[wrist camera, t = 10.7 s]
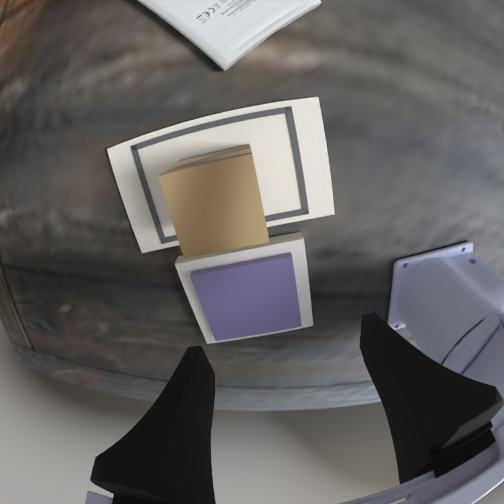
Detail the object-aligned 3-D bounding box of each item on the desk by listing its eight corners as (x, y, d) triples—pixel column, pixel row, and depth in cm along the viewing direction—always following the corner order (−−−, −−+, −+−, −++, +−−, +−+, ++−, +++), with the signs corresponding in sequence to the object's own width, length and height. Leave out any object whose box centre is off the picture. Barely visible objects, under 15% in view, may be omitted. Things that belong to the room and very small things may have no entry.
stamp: (249, 143, 16) (252, 153, 12) (262, 209, 18) (269, 242, 14) (180, 159, 16) (158, 176, 12) (198, 222, 18) (184, 258, 14)
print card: (316, 97, 15) (318, 96, 15) (332, 212, 19) (335, 214, 18) (109, 148, 16) (106, 149, 16) (143, 250, 20) (141, 253, 19)
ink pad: (300, 231, 19) (305, 242, 18) (310, 316, 23) (314, 330, 21) (178, 256, 20) (172, 268, 18) (208, 334, 24) (206, 348, 22)
